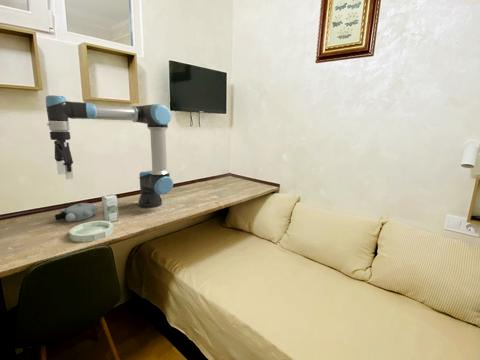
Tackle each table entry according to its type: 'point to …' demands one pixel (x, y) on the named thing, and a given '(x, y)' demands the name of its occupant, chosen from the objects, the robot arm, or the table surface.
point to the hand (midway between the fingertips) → (65, 176)
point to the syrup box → (110, 208)
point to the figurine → (77, 212)
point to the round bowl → (91, 231)
